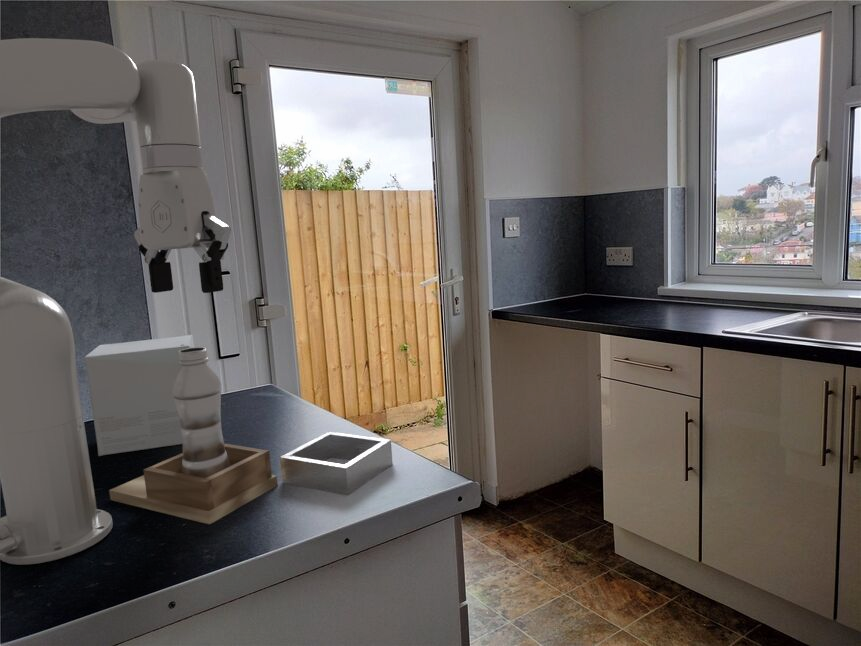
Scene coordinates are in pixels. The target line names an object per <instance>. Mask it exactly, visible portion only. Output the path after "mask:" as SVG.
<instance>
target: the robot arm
mask: <svg viewBox="0 0 861 646" xmlns="http://www.w3.org/2000/svg"><path fill="white" fill-rule="evenodd" d="M196 95H197V94H196V86H195V79H194V75H193V72H192V71H191V70H190V68H189V67H188V66H186V65H185V64H183V63H179V62H176V61H173V60H165V59H152V60H151V59H150V60H144V61H140V62H137V63H136V64H135V63H134V61H133V60H132V58H131V57H130V56H128V55H127V53H126V52H124V51H123V50H121V49H120V48H118V47H117V46H114V45H112V44H109V43H105V42H102V41H96V40H91V39H90V40H87V39H69V38H68V39H65V38H43V37H42V38H41V37H39V38H38V37H30V38H29V37H28V38H27V37H26V38H24V37H23V38H12V39H11V38H10V39H0V119H2V118H5V117H9V116H12V115H17V114H23V113H32V112H43V111H45V112H46V111H70V112H72V113H73V114H74V115H75V116H77V117H78V118H79V119H82V120H83V121H86V122H88V123H93V124H100V125H104V124H105V125H107V124H115V123H116V124H118V123H128V122H129V123H130V122H136V128H137V139H138V146H139V151H140V153H139V155H140V160H141V162H140V163H141V169H142V174H139V179H138V180H139V182H138V196H137V197H138V221H139V222H138V223H139V227H138V228H137V229H136V230H135V231H134V234H133V235H134V238H135V240H136V242H137V245H138V246H139V247H138V249H139V252H140V254H142V255H143V256H144V257H143V260H144V262H145V264H147V265H148V273H149V281H150V288H151V289H150V290H151V292H152V293H153V294H154V293H163V292H170V291H173V290H174V282H173V273H172V265H171V262H170V261H167V260H168V258H169V256H170V254H171V251H172V250H178V249H180V250H181V249H189V248H190V249H191V248H193V250H195V252H196V253H197V255H198V256H199V258H200V260H202V262H198V267H199V269H198V270H199V278H200V287H201V292H202V293H203V294H209V293H216V292H217V293H218V292H222V291H223V290H224V281H223V272H222V261H224V260H225V253H226V251H227V250H228V248H229V240H230V236H231V233H232V227H231V226H230V225H228V224H227V223H225V222H224V221H221V220H220V219H218V218H217V217H216V211H215V206H214V205H215V204H214V201H213V200H214V199H213V195H212V191H211V187H210V183H209V179H208V177H207V172H206V171H204V161H203V153H202V151H203V150H202V144H201V143H202V142H201V134H200V133H201V132H200V126H199V124H200V123H199V115H198V107H197V104H198V103H197V96H196ZM74 339H75V338H74V332H73V328H72V325H71V320H70V318H69V316H68V314H67V312H66V311H65V309H64V308H63V307H62V306H61V305H60V304H59V303H58V302H57V301H56V300H55V299H54V298H53V297H51V296H49V295H48V294H47V293H45V292H43V291H41V290H39V289H37V288H36V289H35V288H33V287H30V286H28V285H24V284H22V283H20V282H16V281H14V280H11V279H8V278H6V277H2V276H0V485H1V490H2V497H3V501H4V508H5V513H6V515H4V516H2V517H0V561H2V562H4V563H7V564H10V565H18V566H19V565H20V566H22V565H25V566H26V565H36V564H43V563H47V562H49V563H50V562H52V561H56V560H60V559H63V558H64V559H65V558H66V557H70V556H73V555H74V554H78V553H79V552H82V551H84V550H85V551H86V550H87V549H88V548H90V547H92V546H94V545H95V544H97V543H99V542H100V541H102V540H103V539H104V538H105V537H107V535H109V533H110V532H111V531H112V528H113V527H114V526H113V525H114V524H113V523H114V522H113V518H112V514H110V513H109V512H107V511H106V510H103V509H98V508H97V501H96V496H95V495H96V494H95V488H94V481H93V475H92V468H91V461H90V453H89V447H88V441H87V434H86V427H85V421H84V414H83V408H82V407H83V406H82V401H81V395H80V393H81V392H80V387H79V378H78V372H77V371H78V369H77V360H76V348H75V347H76V346H75V340H74Z"/></svg>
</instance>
